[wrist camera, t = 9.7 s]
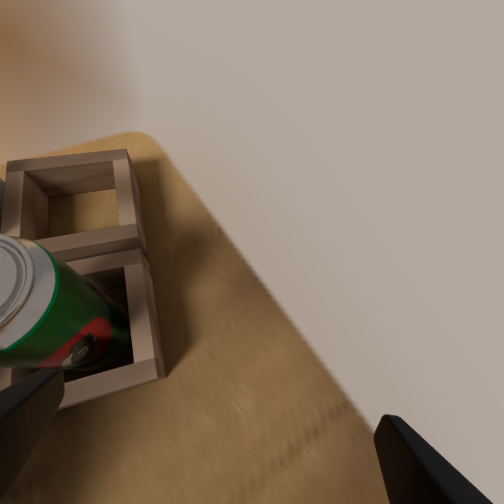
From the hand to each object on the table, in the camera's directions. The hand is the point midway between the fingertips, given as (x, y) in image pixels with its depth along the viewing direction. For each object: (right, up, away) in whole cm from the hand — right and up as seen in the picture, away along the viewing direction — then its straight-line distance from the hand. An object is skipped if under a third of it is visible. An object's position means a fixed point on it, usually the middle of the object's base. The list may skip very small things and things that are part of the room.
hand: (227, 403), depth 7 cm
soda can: (-11, -2, +13) cm, 17 cm away
